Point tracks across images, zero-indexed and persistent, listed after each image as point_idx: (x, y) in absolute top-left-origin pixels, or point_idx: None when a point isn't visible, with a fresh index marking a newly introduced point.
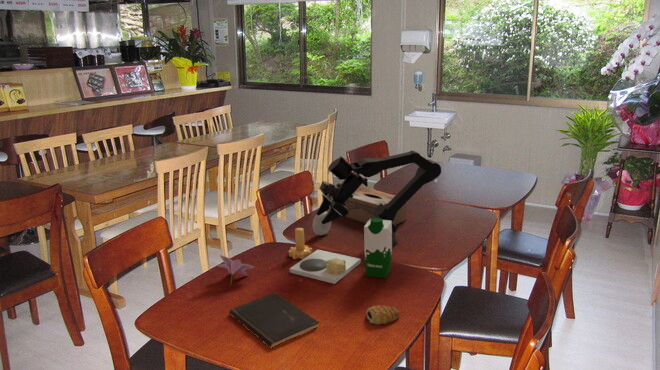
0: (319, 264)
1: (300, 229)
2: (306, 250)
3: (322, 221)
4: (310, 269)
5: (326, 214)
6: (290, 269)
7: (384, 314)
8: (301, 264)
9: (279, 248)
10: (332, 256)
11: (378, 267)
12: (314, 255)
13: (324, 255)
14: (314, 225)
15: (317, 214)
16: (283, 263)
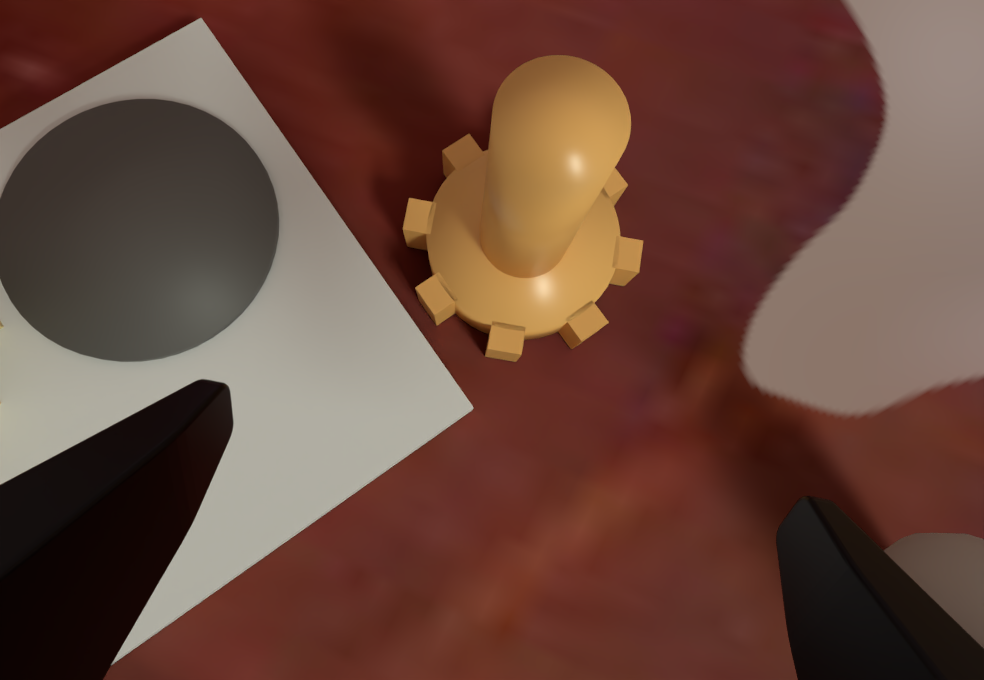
0: (104, 274)
1: (554, 133)
2: (476, 281)
3: (167, 396)
4: (53, 158)
5: (21, 546)
6: (196, 27)
7: None
8: (203, 126)
9: (738, 135)
10: (229, 478)
11: None
12: (349, 320)
13: (296, 411)
14: (948, 552)
15: (796, 519)
16: (415, 59)
